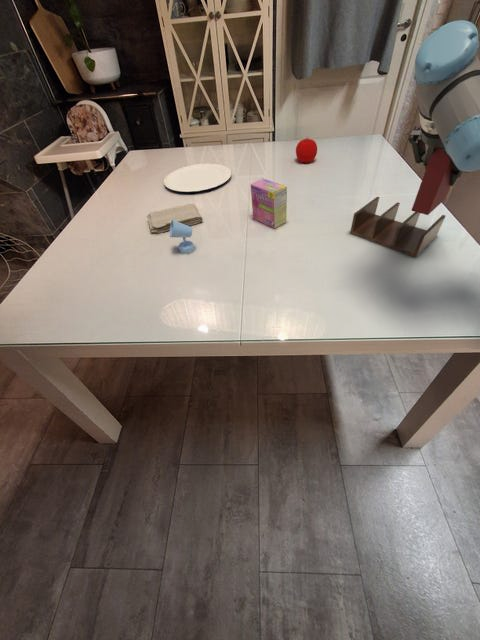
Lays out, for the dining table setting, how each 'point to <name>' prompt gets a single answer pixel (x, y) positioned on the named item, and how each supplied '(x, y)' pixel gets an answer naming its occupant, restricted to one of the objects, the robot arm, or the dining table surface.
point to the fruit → (306, 150)
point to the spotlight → (182, 231)
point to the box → (269, 202)
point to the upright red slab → (434, 183)
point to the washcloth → (173, 217)
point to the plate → (197, 177)
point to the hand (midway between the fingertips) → (443, 178)
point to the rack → (393, 229)
